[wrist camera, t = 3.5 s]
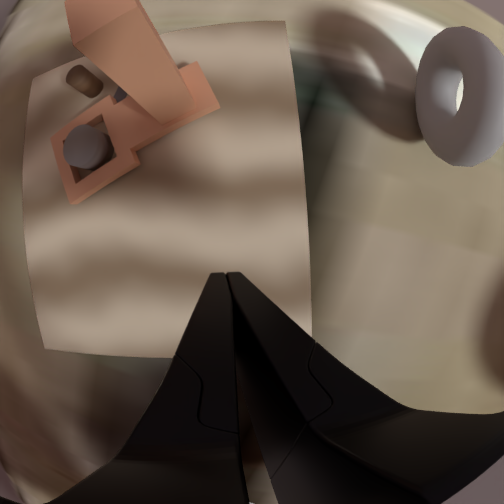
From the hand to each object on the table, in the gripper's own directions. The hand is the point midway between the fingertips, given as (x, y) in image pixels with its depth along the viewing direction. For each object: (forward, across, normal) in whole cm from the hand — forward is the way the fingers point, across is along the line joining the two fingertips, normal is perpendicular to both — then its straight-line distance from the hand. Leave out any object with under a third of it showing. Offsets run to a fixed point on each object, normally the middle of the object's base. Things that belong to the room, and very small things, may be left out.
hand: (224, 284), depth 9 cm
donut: (+12, -16, -6) cm, 21 cm away
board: (+14, +4, +2) cm, 14 cm away
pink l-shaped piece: (+14, +5, -2) cm, 15 cm away
